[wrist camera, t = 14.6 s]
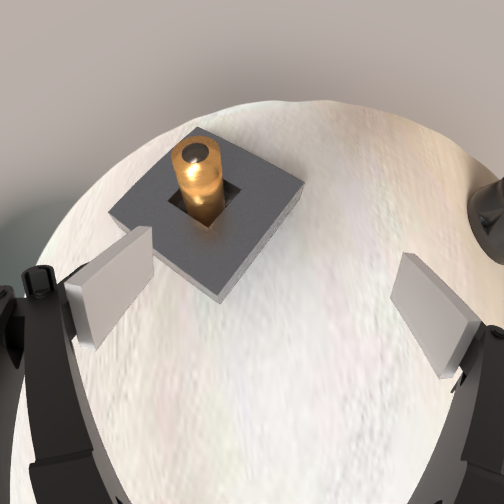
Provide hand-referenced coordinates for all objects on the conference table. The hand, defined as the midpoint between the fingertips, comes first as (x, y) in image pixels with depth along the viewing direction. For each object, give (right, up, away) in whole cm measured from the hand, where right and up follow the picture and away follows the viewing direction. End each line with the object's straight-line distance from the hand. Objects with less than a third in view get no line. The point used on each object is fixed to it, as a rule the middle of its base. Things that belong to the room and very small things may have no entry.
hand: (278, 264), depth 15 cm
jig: (-7, +6, +25) cm, 26 cm away
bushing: (-7, +6, +25) cm, 26 cm away
